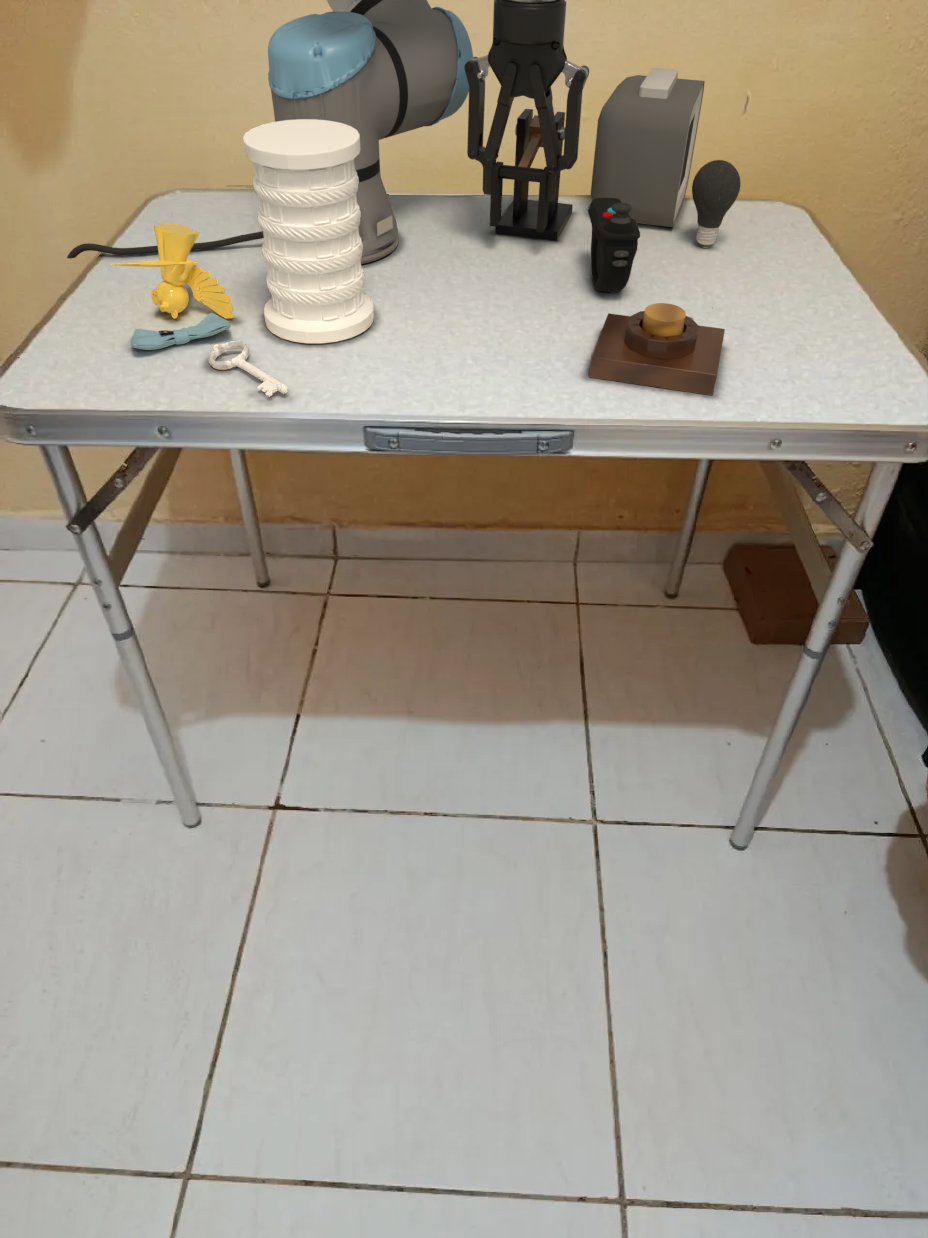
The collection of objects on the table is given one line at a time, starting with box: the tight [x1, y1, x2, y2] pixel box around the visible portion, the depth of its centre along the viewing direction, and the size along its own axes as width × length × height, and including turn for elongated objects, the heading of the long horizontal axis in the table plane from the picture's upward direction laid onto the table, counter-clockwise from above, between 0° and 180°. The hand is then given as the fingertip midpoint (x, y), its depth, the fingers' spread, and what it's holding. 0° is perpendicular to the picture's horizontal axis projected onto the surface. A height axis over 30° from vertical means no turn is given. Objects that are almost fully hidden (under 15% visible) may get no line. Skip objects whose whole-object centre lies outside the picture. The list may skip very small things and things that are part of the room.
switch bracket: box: [494, 108, 573, 242], centre depth 115 cm, size 10×8×13 cm
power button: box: [642, 302, 687, 336], centre depth 89 cm, size 4×4×2 cm
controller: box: [587, 198, 641, 293], centre depth 103 cm, size 4×12×10 cm, turn 3°
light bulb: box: [691, 159, 741, 249], centre depth 111 cm, size 6×6×10 cm
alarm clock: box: [590, 67, 706, 228], centre depth 119 cm, size 16×11×16 cm
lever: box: [499, 114, 544, 184], centre depth 109 cm, size 12×5×2 cm, turn 164°
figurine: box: [110, 222, 235, 320], centre depth 95 cm, size 12×12×9 cm
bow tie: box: [130, 312, 232, 351], centre depth 94 cm, size 10×2×5 cm
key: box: [208, 340, 289, 398], centre depth 89 cm, size 12×1×4 cm
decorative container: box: [242, 119, 375, 344], centre depth 92 cm, size 12×12×18 cm
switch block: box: [588, 310, 726, 396], centre depth 91 cm, size 12×10×4 cm
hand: (518, 224), depth 110 cm, fingers closed on lever, 5 cm apart
